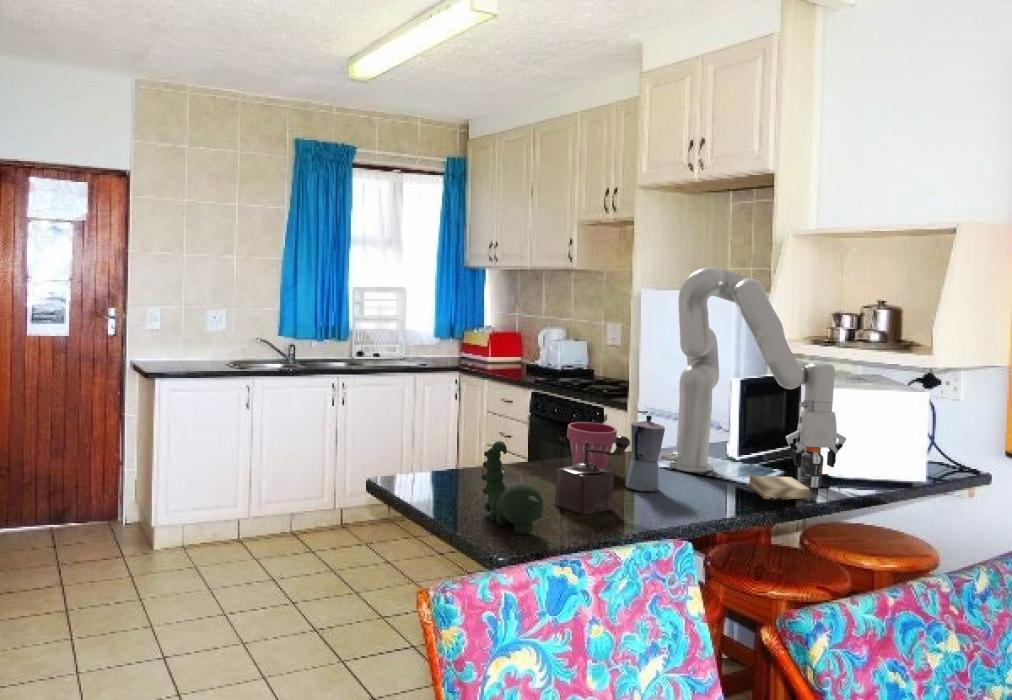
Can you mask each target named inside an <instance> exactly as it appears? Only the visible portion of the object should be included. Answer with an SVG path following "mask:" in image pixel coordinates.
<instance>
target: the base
mask: <svg viewBox="0 0 1012 700" xmlns="http://www.w3.org/2000/svg"><path fill="white" fill-rule="evenodd" d="M747 487H749V488H750V489H751V490H753V491H754V492H755V493H756V494H757V495H759V496H760V497H761V498H763V500H764V499H765V500H771V499H770V498H773V499H772V500H778V499H777V498H781V499H780V500H789V499H810V500H811V497H810V487H806V486H805V485H803V484H801V483H800V482H799V481H798V480H797V479H795V478H793V477H792V476H771V475H769V476H767V475H749V481H748V483H747Z"/></svg>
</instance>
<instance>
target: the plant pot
mask: <svg viewBox="0 0 1012 700" xmlns="http://www.w3.org/2000/svg"><path fill="white" fill-rule="evenodd" d="M566 432H567V433H566V437H567V439H568V440H569V443H570V451H571V452H570V453H571V458H572V466H574V465H576V464H578V463H581V462H583V461H584V458H585V450H584V447H585V445H584V443H585V442H586V441H587V442H589V443H590V444H589V448H590V449H592V450H593V449H594V450H602V451H607V452H612V449H613V445H614V444H615V442H614V441H615V438H616V437H617V436H618V430H617V428H616V427H615V426H613V425H610V424H605V423H600V422H589V421H576V422H571V423H569V424H567V431H566ZM609 458H610V455H605V454H600V453H591V452H589V451H588V462H589V463H594V465H597V467H598V468H601V469H604V470H606V468H607V465H608V461H609Z"/></svg>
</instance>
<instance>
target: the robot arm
mask: <svg viewBox="0 0 1012 700" xmlns="http://www.w3.org/2000/svg"><path fill="white" fill-rule="evenodd" d="M766 293H767V292H766V287H765V285H764V284H763V283H762V282H761V281H759V280H758V279H756V278H753V277H752V278H751V277H748V276H746V275H741V274H739V273H735V272H732V271H730V270H726V269H723V268H720V267H714V266H713V267H711V266H708V267H703V268H699V269H698V270H696V271H693V273H691V274H690V275H689V276H688V277H686V278H685V280H684V281H683V283H682V284H681V287H680V289H679V293H678V322H679V324H678V325H679V345H680V349H681V352H682V354H684V355H685V356H686V360H687V361H686V362H687V366H686V367H685V368H684V370H683V371H682V372H681V375H680V377H679V388H678V389H679V404H678V417H677V419H678V421H677V433H676V435H677V436H676V442H675V444H676V445H675V446H676V447H675V449H673V450H672V452H669V453H665V452H660V454H659V456H658V459H659V460H664V461H667V462H669V466H670V467H671V468H672V469H675V470H677V471H682V472H688V473H708V472H707V471H709V472H711V471H713V465H712V464H711V463H709V462H708V458H709V449H710V448H709V447H710V434H711V425H712V411H713V409H712V408H713V407H712V406H713V389H714V388H715V387H716V386H717V384H718V382H719V380H720V361H719V350H718V349H719V348H718V347H719V346H718V339H717V335H716V334H715V332H714V330H713V329H711V328H710V322H709V307H708V301H709V298H710V297H716V298H719V299H723V300H726V301H728V302H731V303H734V304H735V305H736V307H737V308H738V309H737V310H739V312H740V314H741V316H742V317H743V319H744V321H745V324H746V325H747V327H748V328H749V330H750V332H751V334H752V336H753V338H754V341H755V343H756V344H757V347H758V348H759V350H760V353H761V355H762V357H763V359H764V361H765V363H766V365H767V367H768V368H769V370H770V372H771V374H772V376H773V377H774V379H775V380H776V382H777V384H778V385H779V386H780V387H782V388H784V389H787V390H793V389H796V388H798V387H800V386H805V389H804V399H803V401H802V402H801V401H800V402H799V407H800V408H803V409H802V410H800V415H799V419H798V424H797V430H795V431H794V432H791V433H790V434H788V435H786V436H785V439H786V440H785V441H786V442H787V444H788V446H789V448H790V449H791V450H792V451H793V457H792V458H793V464H794V466H796V467H798V468H801V461H802V454H803V453H801V452H802V450H803V449H804V448H806V447H815V448H821V449H822V448H823V449H824V448H825V449H828V451H827V457H826V465H827V466H828V467H830V468H834V467H835V464H836V461H837V459H836V458H837V454H838V453H839V451H840V450H841V449H842V448H843V445H844V444H845V442H846V440H847V438H846V437H845V436H844V435H841V434H840V433H838V432H837V419H836V412H835V411H833V403H834V402H833V401H834V391H835V390H834V386H835V374H836V373H835V372H836V371H835V370H836V368H835V366H834V365H833V364H831V363H828V362H809V361H804V360H803V361H802V360H799V359H796V357H795V356H794V354H793V351H792V350H791V348H790V345H789V344H788V341H787V339H786V335H785V331H784V327H783V323H782V321H781V320H780V318H779V316H778V314H777V312H776V311H775V309H774V307H773V305H772V304H771V302H770V301H769V298H768V296H767V295H766ZM794 439H796V443H794ZM837 440H838V441H837ZM710 470H711V471H710Z"/></svg>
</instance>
